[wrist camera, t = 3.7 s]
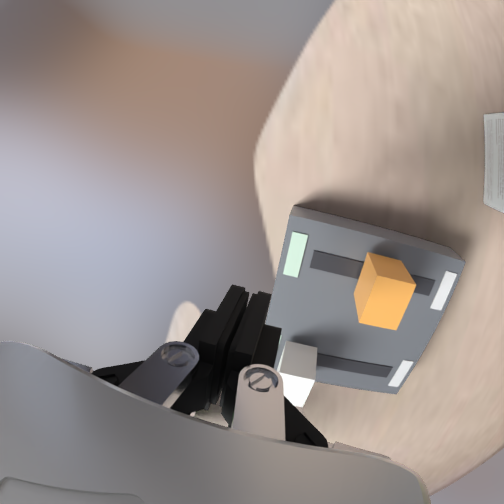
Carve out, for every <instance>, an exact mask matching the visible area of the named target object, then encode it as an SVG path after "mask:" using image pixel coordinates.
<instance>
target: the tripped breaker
mask: <svg viewBox="0 0 504 504" xmlns="http://www.w3.org/2000/svg"><path fill="white" fill-rule="evenodd" d="M415 287H416V283H415V282H414V280H413V279H412V277H411V275H410V274H409V272H408V271H407V269H406V267H405V266H404V264H403V263H402V261H401V260H397V259H393V258H389V257H385V256H381V255H378V254H374V253H370V252H367V255H366V258H365V262H364V265H363V268H362V271H361V274H360V277H359V280H358V282H357V285H356V288H355V291H354V298H355V304H356V309H357V315H358V320H359V323H362V324H367V325H372V326H376V327H381V328H386V329H391V330H397V328H398V326H399V323H400V321H401V319H402V317H403V315H404V313H405V310H406V308H407V306H408V304H409V301H410V299H411V297H412V294H413V292H414V290H415Z"/></svg>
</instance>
